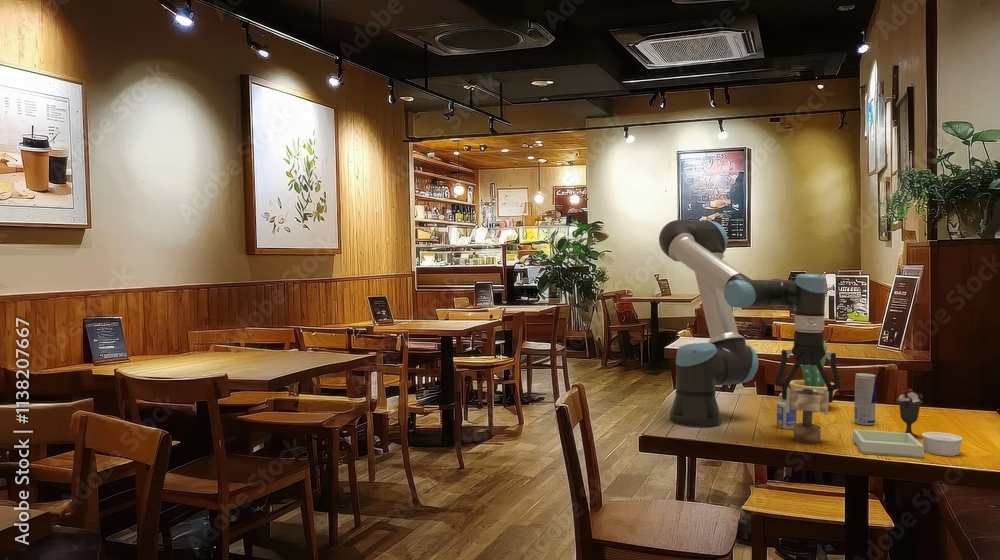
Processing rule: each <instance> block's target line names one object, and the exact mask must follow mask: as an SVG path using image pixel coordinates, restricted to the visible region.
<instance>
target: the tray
mask: <svg viewBox="0 0 1000 560" xmlns="http://www.w3.org/2000/svg"><path fill="white" fill-rule="evenodd" d="M852 441H853V443H854V444H855V446H856V447H857V449H858V450H859V451H860V453H861V454H863V455H864V454H866V455H875V454H876V456H878V455H879V456H888V455H890V457H903V458H904V457H905V458H917V459H918V458H919V459H924V458H925V455H924V453H925V450H924V446H923V444H922V443H921V442H920V441H919V440H918V438H914V437H913V436H912V435H911V434H910V433H905V432H896V431H894V432H893V431H882V430H881V431H879V430H869V429H868V430H865V429H852Z"/></svg>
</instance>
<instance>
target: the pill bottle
mask: <svg viewBox="0 0 1000 560" xmlns="http://www.w3.org/2000/svg"><path fill="white" fill-rule="evenodd" d="M797 411H798V410H790V407H789V413H788V412H786V400H784V399H782V392H781V393H779V400H778V401H777V403H776V427H777V428H780V429H786V430H794V424H796V423H797Z"/></svg>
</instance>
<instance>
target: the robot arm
mask: <svg viewBox="0 0 1000 560" xmlns="http://www.w3.org/2000/svg"><path fill="white" fill-rule="evenodd" d="M728 241H729V239H728V234H727V231H726V230H725V228H724V227H723V225H721V224H720V223H719V222H717V221H714V220H713V221H712V220H707V219H702V220H699V219H698V220H695V219H693V220H692V219H675V220H673V221H670V222H668V223H666V224H665V225H664V226H663V227H662V228H661V231H660V233H659V236H658V244H659V246H660V249H661V251H662V252H663V253H664V254H665V255H666V256H667V258H670V259H671V260H672V261H674V262H680V263H682V264H684V265H685V267H687V268H689V269H690V270H692V271H693V272H694V275H695V279H696V284H697V287H698V292H699V297H700V300H701V303H702V304H701V305H702V309H703V313H704V317H705V322H706V327H707V331H708V334H709V340H708V342H697V343H696V342H695V343H694V342H693V343H687V344H683V345H681V346H680V347H678V348H677V350H676V356H675V357H676V358H675V396H674V400H673V402H672V405H671V408H670V410H669V421H670V422H671V423H673V424H676V425H681V426H687V427H696V428H697V427H699V428H700V427H701V428H703V427H704V428H705V427H706V428H707V427H708V428H709V427H715V426H717V427H718V426H719V425H721V424H722V414H721V411H720V408H719V405H718V402H717V401H718V400H717V398H716V389H717V387H716V386H726V385H740V384H744V383H748V382H750V381H752V380H753V378H754V377H755V375H756V373H757V371H758V369H759V356H758V354H757V352H756V350H755V349H754V348H753V347H752V346H751V345H747V343H746V339H745V336H743V335H742V334H739V331H738V328H737V323H736V320H735V315H734V311H733V308H740V309H746V308H762V307H763V308H765V307H769V308H770V307H787V308H794V326H793V328H794V329H795V331H794V333H793V347H792V348H791V349H784V348H783V349H781V353H780V354H781V360H780V363H779V366H778V371H777V372H776V373H777V374H776V377H775V381H774V382H775V385H776V386H779V387H780V388H781V393H782V399H784V400H786V412H788V413H789V405H790V389H791V387H790V384H789V383H790V381H793V378H794V376H795V375H796V373H797V371H798V370H799V368H800V367H801V364H802V365H813V366H815V365H816V367H817V368H818V370H819V372H820V374H821V376H822V378H823V380H824V382H825V384H826V386H827V390H826V389H824V393H825V395H826V396H827V412H823V414H824V416H828V415H829V404H830V403H831V404H832V403H833V401H834V396H833V391H834V390H836V389H838V390H840V389H841V386H842V385H841V382H840V377H839V373H838V369H837V364H836V358H837V353H836V352H834V351H827V352H826V351H825V350H824V341H825V333H824V332H823V331H824V330H825V307H826V293H827V287H826V286H827V285H826V276H824V275H822V274H816V273H815V274H813V273H798V274H797V275H795V280H791V279H790V280H788V279H781V278H769V279H751V278H750V277H748V276H747V275H745V274H743V273H742V272H741V271H739V270H738V269H736V268H735V267H734V266H732V265H731V264H729V263H728V262H726V261H724V260H723V259H724V258H725V255H724V253H725V252H726V251H727V247H728V246H727V245H728ZM791 355H793V356H794V357H793V358H795V361H794V362H793V365H792V366H791V368H790V370H789V371H788V373H787V375H786V376H785V378H784V380H782V379H783V375H784V372H785V368H786V365H787V361H788V359H789V358H790V357H791ZM824 356H826V359H827V360H828V361H829V368H830V371H831V375H832V380H833V383H834V384H833V385H831V383H832V382H831V381H830V378H829V377H828V375H827V373H826V371H825V368H824V369H823V367H822V365H821V363H820V360H821V359H822V358H823V357H824ZM830 382H831V383H830ZM828 402H829V404H828Z"/></svg>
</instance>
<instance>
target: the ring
mask: <svg viewBox="0 0 1000 560" xmlns="http://www.w3.org/2000/svg"><path fill="white" fill-rule="evenodd" d="M789 407H790V410H797V411H803V410H804V411H812V412H821V413H824V412H827V396H826V395H825V393H824V392H823V391H817V390H813V395H804V394H803V390H802V389H792V388H790V405H789Z"/></svg>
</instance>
